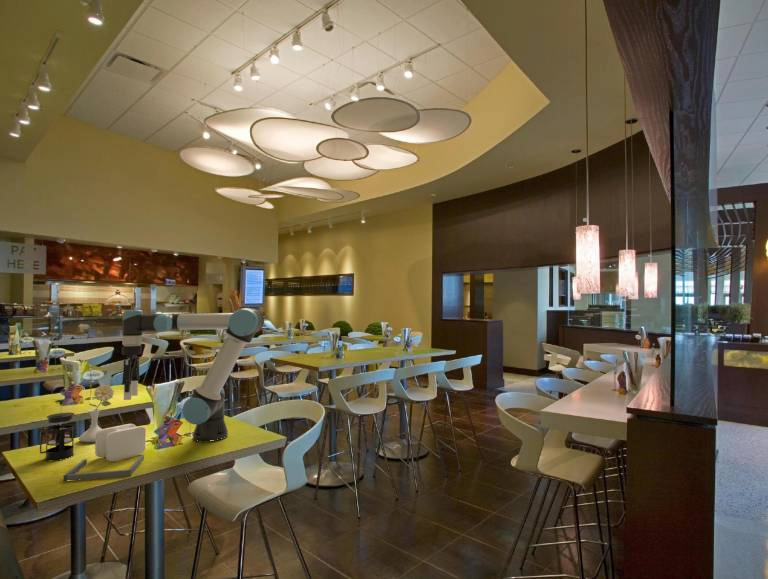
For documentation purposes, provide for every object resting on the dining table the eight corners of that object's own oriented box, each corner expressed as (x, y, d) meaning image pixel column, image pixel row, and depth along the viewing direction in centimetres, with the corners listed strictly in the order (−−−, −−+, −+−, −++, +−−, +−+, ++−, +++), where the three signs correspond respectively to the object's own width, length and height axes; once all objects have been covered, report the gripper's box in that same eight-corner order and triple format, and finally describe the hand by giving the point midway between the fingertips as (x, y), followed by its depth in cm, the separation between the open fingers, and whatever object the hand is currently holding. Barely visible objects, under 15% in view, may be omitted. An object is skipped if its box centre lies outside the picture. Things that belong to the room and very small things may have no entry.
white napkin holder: (105, 464, 169) (105, 434, 170) (94, 459, 176) (95, 429, 176) (145, 454, 181) (146, 425, 182) (134, 449, 187) (134, 421, 188)
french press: (73, 451, 185) (75, 396, 186) (77, 456, 178) (79, 399, 179) (38, 457, 177) (40, 400, 178) (41, 464, 170) (42, 404, 171)
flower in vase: (77, 446, 192) (79, 388, 193) (79, 439, 202) (81, 384, 203) (112, 441, 198) (113, 385, 199) (113, 435, 208) (114, 382, 209)
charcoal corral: (143, 460, 174) (144, 454, 174) (130, 475, 158) (130, 470, 158) (83, 464, 169) (83, 459, 169) (63, 481, 153) (63, 475, 153)
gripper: (130, 343, 201) (128, 393, 200) (114, 347, 181) (112, 403, 180) (148, 343, 203) (146, 392, 202) (134, 347, 182) (132, 402, 182)
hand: (130, 397), depth 191 cm, fingers open, 8 cm apart
